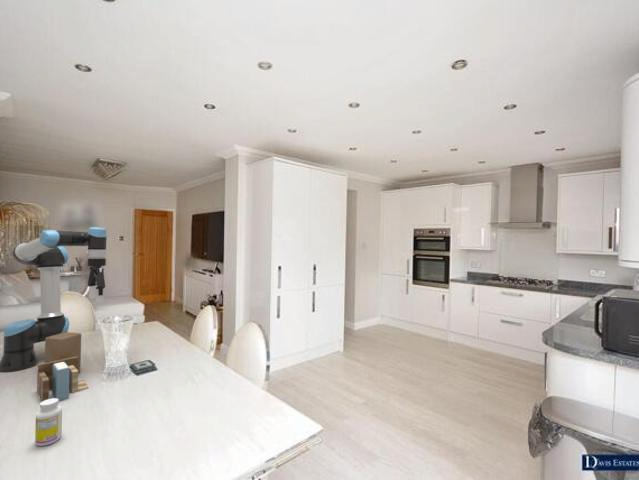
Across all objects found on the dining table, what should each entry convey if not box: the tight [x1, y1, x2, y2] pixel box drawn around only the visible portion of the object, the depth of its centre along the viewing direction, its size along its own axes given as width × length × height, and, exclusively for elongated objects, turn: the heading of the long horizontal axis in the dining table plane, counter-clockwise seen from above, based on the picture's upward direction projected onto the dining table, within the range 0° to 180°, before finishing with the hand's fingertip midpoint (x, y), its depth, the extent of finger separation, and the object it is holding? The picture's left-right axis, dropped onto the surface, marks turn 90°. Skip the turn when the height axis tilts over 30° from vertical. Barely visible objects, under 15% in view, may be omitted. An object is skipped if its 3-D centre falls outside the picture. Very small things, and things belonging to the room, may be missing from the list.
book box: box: [51, 362, 70, 402], centre depth 134 cm, size 10×4×13 cm, turn 49°
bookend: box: [68, 365, 90, 394], centre depth 142 cm, size 10×6×9 cm, turn 49°
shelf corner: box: [36, 356, 78, 402], centre depth 137 cm, size 15×14×12 cm
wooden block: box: [44, 331, 82, 375], centre depth 154 cm, size 10×10×20 cm
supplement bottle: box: [34, 397, 63, 447], centre depth 104 cm, size 7×7×13 cm
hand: (95, 300), depth 157 cm, fingers open, 13 cm apart
